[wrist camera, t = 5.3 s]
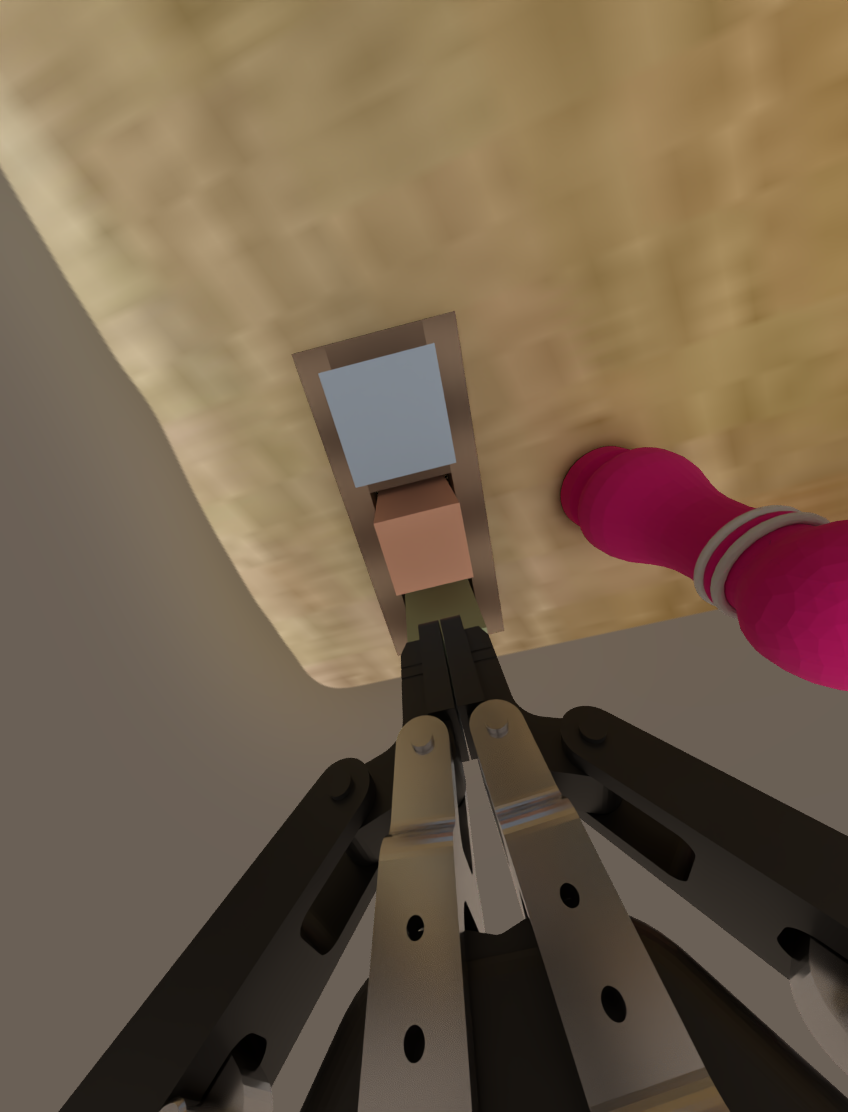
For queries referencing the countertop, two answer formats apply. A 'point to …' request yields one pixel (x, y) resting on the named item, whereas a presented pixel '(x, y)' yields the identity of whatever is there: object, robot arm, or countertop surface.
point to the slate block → (390, 415)
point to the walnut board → (459, 474)
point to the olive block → (442, 607)
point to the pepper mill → (724, 552)
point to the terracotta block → (422, 535)
